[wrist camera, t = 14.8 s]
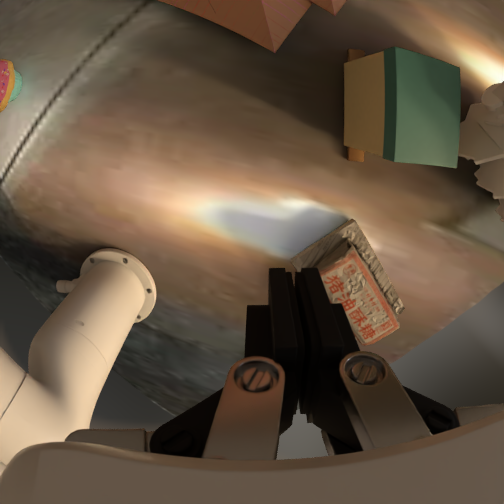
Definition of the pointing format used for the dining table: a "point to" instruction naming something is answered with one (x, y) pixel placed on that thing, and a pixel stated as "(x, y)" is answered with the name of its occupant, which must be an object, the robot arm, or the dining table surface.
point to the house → (256, 16)
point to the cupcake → (8, 83)
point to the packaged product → (355, 281)
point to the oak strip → (351, 152)
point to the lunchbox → (403, 107)
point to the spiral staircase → (486, 141)
